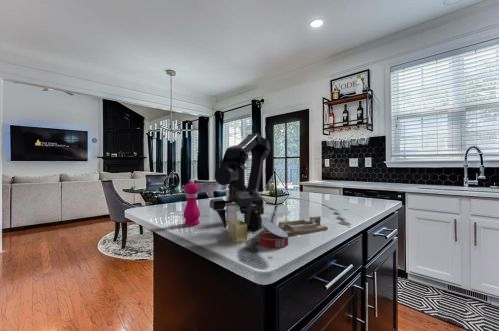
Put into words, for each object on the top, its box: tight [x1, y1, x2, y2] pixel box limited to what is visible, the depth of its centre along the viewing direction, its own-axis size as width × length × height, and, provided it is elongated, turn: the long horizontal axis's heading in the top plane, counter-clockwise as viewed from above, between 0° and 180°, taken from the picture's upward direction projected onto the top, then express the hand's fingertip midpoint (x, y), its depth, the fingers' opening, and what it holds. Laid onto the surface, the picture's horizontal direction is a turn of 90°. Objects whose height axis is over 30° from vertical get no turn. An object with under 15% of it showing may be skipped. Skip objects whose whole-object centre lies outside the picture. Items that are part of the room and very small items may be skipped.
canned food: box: [258, 216, 289, 250], centre depth 81 cm, size 11×10×10 cm
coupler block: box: [227, 219, 248, 244], centre depth 86 cm, size 4×8×6 cm, turn 25°
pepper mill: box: [182, 178, 201, 227], centre depth 107 cm, size 7×7×20 cm
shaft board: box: [277, 215, 329, 237], centre depth 97 cm, size 10×20×4 cm, turn 115°
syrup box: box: [225, 190, 244, 223], centre depth 111 cm, size 6×6×14 cm
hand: (237, 226), depth 87 cm, fingers open, 9 cm apart
